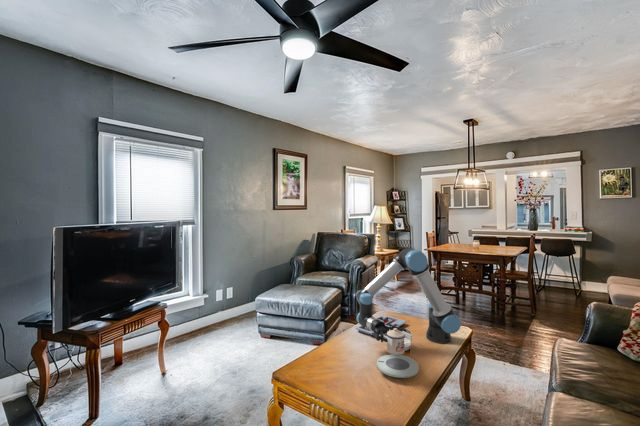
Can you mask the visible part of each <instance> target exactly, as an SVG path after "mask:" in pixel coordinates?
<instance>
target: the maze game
mask: <svg viewBox="0 0 640 426" xmlns="http://www.w3.org/2000/svg"><path fill="white" fill-rule="evenodd" d="M375 318H376V319H378V320H380V321H382V322H384V324H385V325H386V326H388V327H390V325H393V326H396V327H399V328H400V327H401V326H403V325H404V324H406V323H408V321H407V320H404V319H400V318H396V317H393V316H389V315H386V314H382V315H380V316H378V317H375ZM355 330H358V333H361V334H365V335H367V336H371V337H373V338H375V336H374V335H373V334H372V331H371V330H369V329H367V328H366V327H364V326H362V325H361V324H360V325H359V326H357V327H355ZM389 331H390V329H389ZM384 335H385V336H387V334H383V337H384ZM379 336H380V335H379Z"/></svg>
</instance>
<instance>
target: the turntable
mask: <svg viewBox="0 0 640 426" xmlns="http://www.w3.org/2000/svg"><path fill="white" fill-rule="evenodd" d="M419 366H420V365H419V364H418V362H417V361H416V360H415V359H413V358H412V357H409V356H406V355H404V354H400V355H395V354H391V353H389V354H384V355H382V356H380V357H379V358H378V359H377V361H376V368H377V369H378V370H379V371H380V372H381V373H382V374H384V375H386V376H388V377H389V376H392V377H396V378H406V379H408V377H409V378H412V377H415V376H416V375H418V373H419V372H420V367H419ZM392 377H391V378H392Z"/></svg>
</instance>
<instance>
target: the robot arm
mask: <svg viewBox="0 0 640 426" xmlns="http://www.w3.org/2000/svg"><path fill="white" fill-rule="evenodd" d="M428 260H429V259H428V257H427V255H426V254H425V253H424V252H422V251H421V250H418V249H415V248H413V247H407V248H404V249H402V250H401V251H399V253H397V255H396V256H394V258H393V259H392V262H390V263H389V264H388V265H387V266H386V267H385V268H384V269H383V270H381V272H380V273H379V274H378V275H376V277H374V278H373V279H372V280H371V281H370V282H369V283H368V284H367V285H366V286H365V287H363V289H359V290H358V291H357V292H356V293H355V298H356V301H357V302H358V304H359V305H358V306H359V312H358V313H357V314H356V315H357V316H356V321H357V323H358V324H359V325H360V326H361V325H362V326H364V327H366V328H367V329H369V330H371V331H372V334H373V335H374V336H375V337H374V338H375V339H376V341H378V342H380V343H386V344H387V343H388V344H390V345H391V346H393V340H392V339H390V338H388V337H387V335H386V336H385V335H384V337H383V334H387V332H388V331H389V329H390V330H394V328H397V329H398V330H399V331H401V332H403V333H404V335H405V338H404V339H407V340H408V341H409V342H411V341H413V335H412V334H410V333H409V332H407V329H406V328H403V327H400V326H399V327H396V326H393V325H390V327H388V326H386V325H385V324H384V322H382V321H380V320H378V319H376V318H377V317H374V316H373V301H374V299H373V297H374V296H375V295H376V294H377V293H378V292H380V291H381V290H382V289H383V288H384V287H385V286H386V285H387V284H388V283H389V282H391V280H393V278H395V277H396V276H397V275H398V274H399V273H400V272H401V271H405V270H406V269H408V272H410V274H411V276H413V277H415V279H416V280H417V282H418V284H419V286H420V288H421V289H422V292H423V293H424V295H425V297H426V299H427V301H428V302H429V304H428V327H427V330H426V333H425V338H426V339H427V340H428V341H430V342H433V343H437V344H448V343H450V342H451V341H452V336H451V334H452V335H453V334H455V333H457V332H458V331H459V330H461V327H462V320H461V318H460V316H458V315H457V314H456V313H455V311H454V309H453V308H452V306H451V305H450V304H448V303H447V301H446V300H445V298H444V296H443V295H442V293H441V291H440V288H439V286H438V285H437V283H436V281H435V280H434V278H433V276H432V273H430V271H429V270H430V265H429V261H428ZM379 335H380V336H379Z"/></svg>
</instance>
